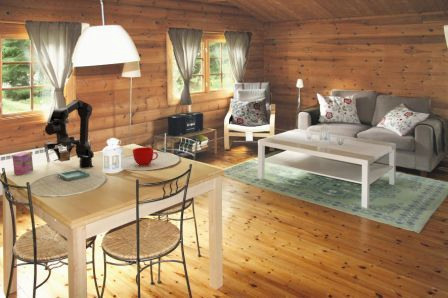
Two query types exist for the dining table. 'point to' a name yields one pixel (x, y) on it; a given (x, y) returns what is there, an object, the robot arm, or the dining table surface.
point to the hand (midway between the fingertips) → (63, 158)
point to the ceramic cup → (143, 155)
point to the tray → (73, 174)
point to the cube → (64, 155)
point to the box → (22, 163)
